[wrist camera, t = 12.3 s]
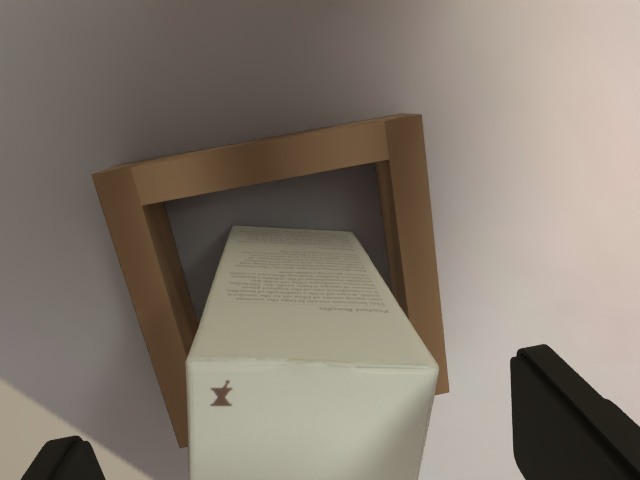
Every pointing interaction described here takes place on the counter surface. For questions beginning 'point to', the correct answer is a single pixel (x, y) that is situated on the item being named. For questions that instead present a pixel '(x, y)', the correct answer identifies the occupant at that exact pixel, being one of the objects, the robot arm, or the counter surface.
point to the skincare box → (305, 365)
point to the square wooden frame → (254, 168)
